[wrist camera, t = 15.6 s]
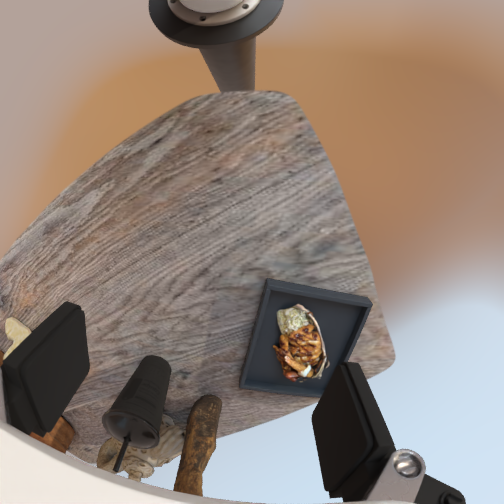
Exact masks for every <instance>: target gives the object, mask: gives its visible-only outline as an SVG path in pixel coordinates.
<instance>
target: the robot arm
mask: <svg viewBox="0 0 504 504" xmlns="http://www.w3.org/2000/svg"><path fill="white" fill-rule="evenodd" d="M167 1H168V5H169V7H170V9H171V10H172V12H173V13H174V14H175V15H176V16H177V17H178V18H179V19H181V20H183V21H185V22H187V23H190V24H193V25H199V26H218V25H224V24H228V23H231V22H234V21H236V20H239V19H241V18H243V17H244V16H246V15H248V14H249V13H250V12H251V11H252V10H254V9H255V7H256V6H257V5H258V4H259V2H260V0H167ZM245 8H247V9H245ZM203 20H205V21H203ZM89 369H90V363H89V355H88V347H87V337H86V326H85V314H84V311H82V310H81V307H80V306H79V305H77V304H74V303H71V302H68V301H66V302H64V303H63V304H62V305H61V306H60V307H59V308H58V309H56V310H55V311H54V312H53V313H52V314H51V315H50V316H49V317H48V318H47V319H45V320H44V321H43V322H42V323H41V324H40V325H39V326H38V327H37V328H36V329H35V330H34V331H33V332H32V333H31V334H29V335H28V336H27V337H26V338H25V339H24V340H23V341H22V342H21V343H20V344H19V345H18V346H17V347H16V348H15V349H14V350H13V351H12V352H11V353H10V354H9V355H8V356H7V357H6V358H5V359H4V360H3V364H2V365H1V366H0V504H265V503H249V502H239V501H229V500H222V499H214V498H208V497H202V496H196V495H191V494H186V493H181V492H176V491H172V490H168V489H163V488H159V487H156V486H152V485H148V484H144V483H141V482H138V481H134V480H131V479H128V478H125V477H122V476H118V475H116V474H113V473H110V472H107V471H105V470H102V469H99V468H97V467H94V466H92V465H89V464H87V463H84V462H82V461H80V460H77V459H75V458H73V457H71V456H68V455H66V454H64V453H62V452H60V451H58V450H56V449H54V448H52V447H50V446H48V445H46V444H44V443H42V442H40V441H38V440H36V439H34V438H32V437H31V436H29V435H30V434H31V432H33V433H35V434H37V435H39V436H41V437H42V438H44V436H45V434H46V433H47V432H48V433H50V432H51V431H52V430H53V428H54V426H55V425H56V423H57V421H58V420H59V418H60V416H61V415H62V413H63V412H64V410H65V408H66V407H67V405H68V404H69V402H70V400H71V399H72V397H73V396H74V394H75V393H76V391H77V389H78V388H79V386H80V385H81V383H82V382H83V380H84V379H85V377H86V376H87V374H88V372H89ZM312 425H313V430H314V435H315V440H316V446H317V451H318V456H319V462H320V467H321V473H322V478H323V484H324V489H325V490H326V491H329V495H330V498H340V497H342V498H343V502H342V503H327V504H466V502H465V498H464V496H463V495H462V494H461V492H460V491H458V490H456V489H454V488H452V487H450V486H448V485H446V484H444V483H442V482H440V481H438V480H436V479H434V478H432V477H430V476H428V475H427V474H425V470H426V466H425V462H424V460H423V458H422V457H421V456H420V455H419V454H417V453H416V452H414V451H412V450H409V449H400V450H397V451H396V448H395V446H394V442H393V440H392V437H391V435H390V433H389V430H388V428H387V426H386V423H385V421H384V418H383V416H382V414H381V411H380V409H379V407H378V405H377V402H376V400H375V398H374V396H373V394H372V391H371V389H370V387H369V384H368V382H367V380H366V378H365V375H364V373H363V371H362V369H361V367H360V365H359V363H354V362H342V363H341V365H337V366H336V368H335V370H334V372H333V374H332V376H331V378H330V380H329V382H328V384H327V386H326V388H325V390H324V392H323V394H322V396H321V398H320V400H319V402H318V404H317V406H316V408H315V410H314V411H313V414H312Z"/></svg>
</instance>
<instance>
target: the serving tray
mask: <svg viewBox="0 0 504 504" xmlns="http://www.w3.org/2000/svg"><path fill="white" fill-rule="evenodd" d="M297 304H299V305H303V306H304V308H305V309H308V310H310V311H311V312H312V313H313V317H314V319H315V320H316V321H317V323H318V326H319V327H320V333H321V336H322V338H323V342H324V345H325V351H326V354H327V353H328V360H329V363H330V365H329V366H328V367H327V368H324V369H323V371H322V373H321V374H322V376H321V377H320V376H319V377H318V378H315V377H313V378H310V377H300V378H298V379H297V380H296V381H295V382H292V381H290V380H289V379H287V378H286V377H285V376H284V375H283V373H284V371H283V369H282V365H281V363H280V362H279V360H278V359H277V356H276V351H275V349H274V348H273V345H275V346H277V347H278V348H280V342H279V338H280V336H281V335H282V333H281V330H280V327H279V325H278V319H277V312H278V311H279V310H284V309H288V308H291V307H293V306H295V305H297ZM372 305H373V304H372V303H371V301H370V300H369V299H368V297H363V296H357V295H352V294H347V293H341V292H336V291H331V290H326V289H320V288H315V287H310V286H305V285H300V284H295V283H290V282H285V281H280V280H275V279H270V278H267V279H266V283H265V287H264V290H263V294H262V298H261V302H260V306H259V309H258V313H257V317H256V321H255V324H254V328H253V332H252V336H251V339H250V343H249V347H248V350H247V354H246V358H245V361H244V365H243V368H242V372H241V376H240V381H239V388H243V389H249V390H256V391H263V392H270V393H278V394H287V395H296V396H306V397H318V398H321V396H322V394H323V392H324V390H325V388H326V386H327V384H328V382H329V380H330V378H331V376H332V374H333V372H334V370H335V368H336V366H337V365H341V363H342V362H348V360H349V358H350V355H351V353H352V351H353V349H354V347H355V345H356V342H357V340H358V338H359V336H360V334H361V331H362V329H363V327H364V324H365V322H366V320H367V317H368V315H369V312H370V310H371V307H372ZM320 366H321V364H320ZM320 366H319V367H318V369H316V372H318V370H319V368H320ZM303 378H304V379H306V380H304V379H303ZM319 378H320V379H319ZM300 381H303V382H300Z"/></svg>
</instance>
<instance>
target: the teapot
mask: <svg viewBox="0 0 504 504" xmlns="http://www.w3.org/2000/svg"><path fill="white" fill-rule="evenodd" d="M185 432H186V429H184V428H182V427H180V426H177V425H174V423H173V420H172V418H171V417H169V416H167V415H165V414H163V415H162V421H161V426H160V432H159V434H160V442H159V444H158V445H157V446H156V447H155V448H152V449H138V448H134V447H130V446H128V447H127V449H126V452H125V455H124V458H123V460H122V463H121V466H120V469H119V471H118V473H119V472H121V471H123V470H124V471H126V472H127V473H128V474H129V478H128V479H131V480H134V481H138V482H140V481H141V478H148V477H150V476H151V475H152V474H153V472H154V468H153V467H161V466H162V465H163V464H165V463H169V462H170V461H171V460H173V459H174V458H175V457H177V456H179V455H181V454H182V449H183V445H184V438H185ZM122 444H123V443H121V442H120V441H118V440H116V439H115V438H114V437H112V436H111V438H110V439H108V440H107V441H106V442H105V443H104V444H103V445H102V446H101V448H100V451H99V454H98V458H97V468H99V469H102V470H105V471H107V472H110V473H113V474H116V473H117V472H114V471H113V467H114V465H115V462H116V459H117V457H118V454H119V452H120V449H121V446H122ZM116 454H117V455H116Z"/></svg>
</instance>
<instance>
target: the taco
mask: <svg viewBox="0 0 504 504" xmlns="http://www.w3.org/2000/svg"><path fill="white" fill-rule="evenodd" d="M277 319H278V325H279V327H280V330H281V333H282V335H281V336H280V338H279V342H280V348H278V347H277V346H275V345H273V348H274V349H275V351H276V356H277V359H278V360H279V362H280V363H281V365H282V369H283V371H284V373H283V375H284V376H285V377H286V378H287V379H289V380H290V381H292V382H295V381H296V380H297V379H298V378H300V377H310V378H313V377H315V378H318V377H319V376H320V377H321V376H322V374H321V373H322V371H323V369H324V368H327V367H328V366H329V365H330V363H329V360H328V353H327V354H326V351H325V345H324V342H323V338H322V336H321V333H320V327H319V326H318V323H317V321H316V320H315V319H314V317H313V313H312V312H311V311H310V310H308V309H305V308H304V306H303V305H299V304H297V305H295V306H293V307H291V308H288V309H284V310H279V311H278V312H277ZM320 364H321V366H320ZM319 366H320V368H319V370H318V372H316V369H318V367H319ZM303 379H304V378H303ZM319 379H320V378H319ZM304 380H306V379H304ZM300 382H303V381H300Z"/></svg>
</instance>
